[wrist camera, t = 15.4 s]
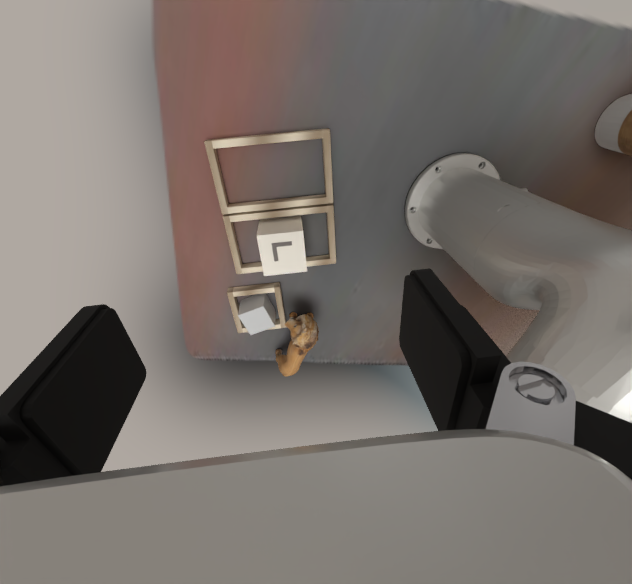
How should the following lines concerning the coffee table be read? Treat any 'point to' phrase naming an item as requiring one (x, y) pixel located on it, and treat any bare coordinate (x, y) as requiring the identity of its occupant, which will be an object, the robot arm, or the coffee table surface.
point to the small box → (253, 290)
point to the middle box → (273, 214)
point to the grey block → (257, 313)
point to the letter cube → (281, 245)
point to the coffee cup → (616, 126)
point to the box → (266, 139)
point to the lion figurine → (297, 342)
